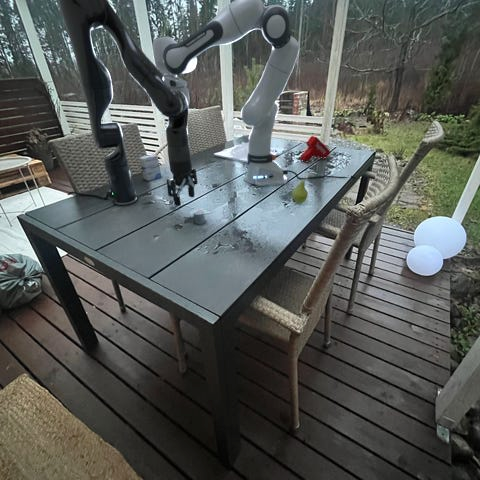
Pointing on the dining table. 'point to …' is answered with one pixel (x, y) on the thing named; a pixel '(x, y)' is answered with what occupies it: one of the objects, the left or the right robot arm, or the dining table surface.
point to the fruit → (300, 192)
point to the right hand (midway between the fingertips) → (171, 115)
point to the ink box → (150, 167)
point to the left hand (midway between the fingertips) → (185, 201)
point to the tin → (199, 217)
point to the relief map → (237, 153)
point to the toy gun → (315, 149)
